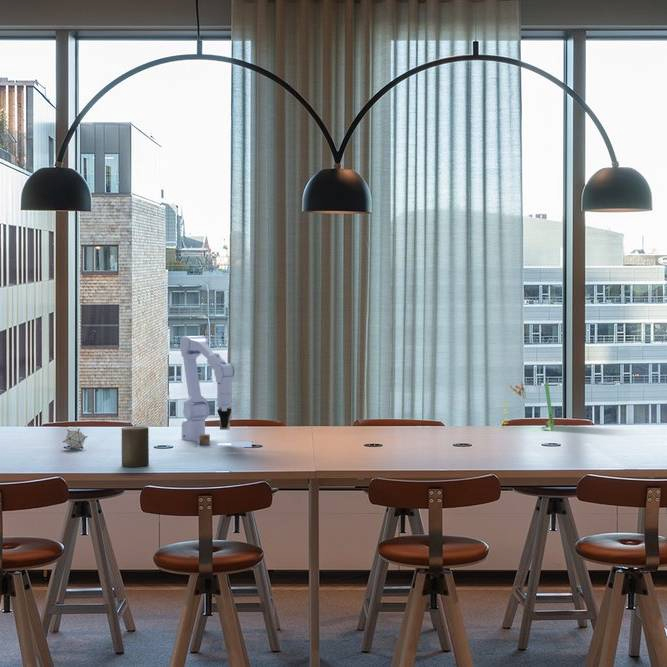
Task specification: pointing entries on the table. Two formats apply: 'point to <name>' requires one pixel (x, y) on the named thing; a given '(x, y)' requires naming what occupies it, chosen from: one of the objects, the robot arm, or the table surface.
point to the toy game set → (521, 391)
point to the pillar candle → (135, 446)
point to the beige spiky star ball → (75, 439)
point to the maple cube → (227, 426)
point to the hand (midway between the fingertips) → (224, 427)
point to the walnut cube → (204, 439)
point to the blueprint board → (226, 444)
